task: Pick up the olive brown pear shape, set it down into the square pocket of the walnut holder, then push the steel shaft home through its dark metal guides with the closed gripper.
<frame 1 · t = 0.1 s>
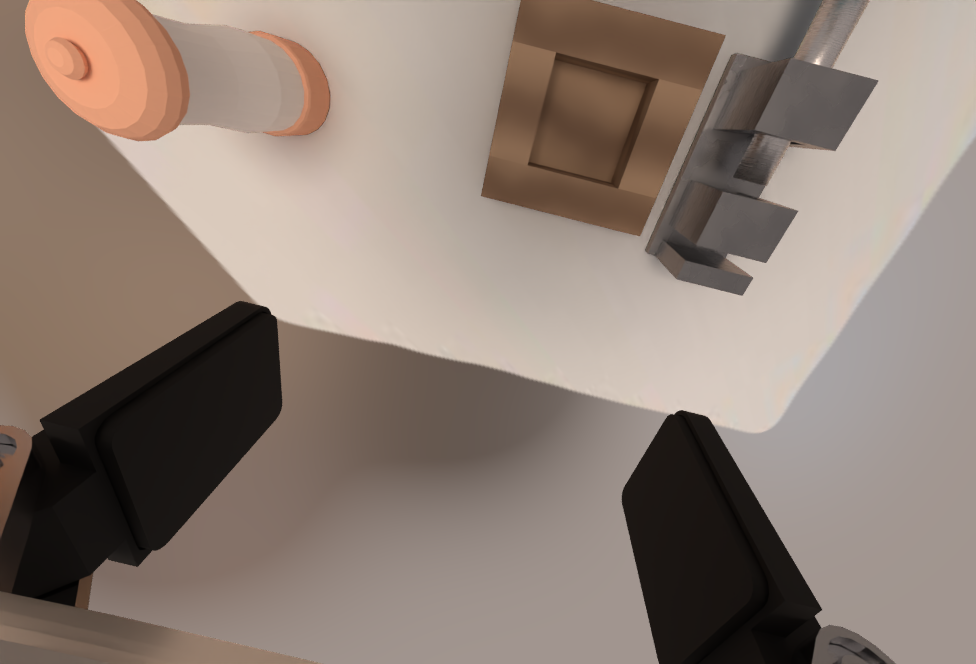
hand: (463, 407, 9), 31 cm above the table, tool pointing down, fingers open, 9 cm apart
salt shaker: (291, 89, 34), on the table
steel shaft: (820, 47, 25), point 5 cm above the table, slide at 0.0 cm
walnut holder: (582, 124, 33), on the table
shaft bracket: (721, 174, 34), on the table
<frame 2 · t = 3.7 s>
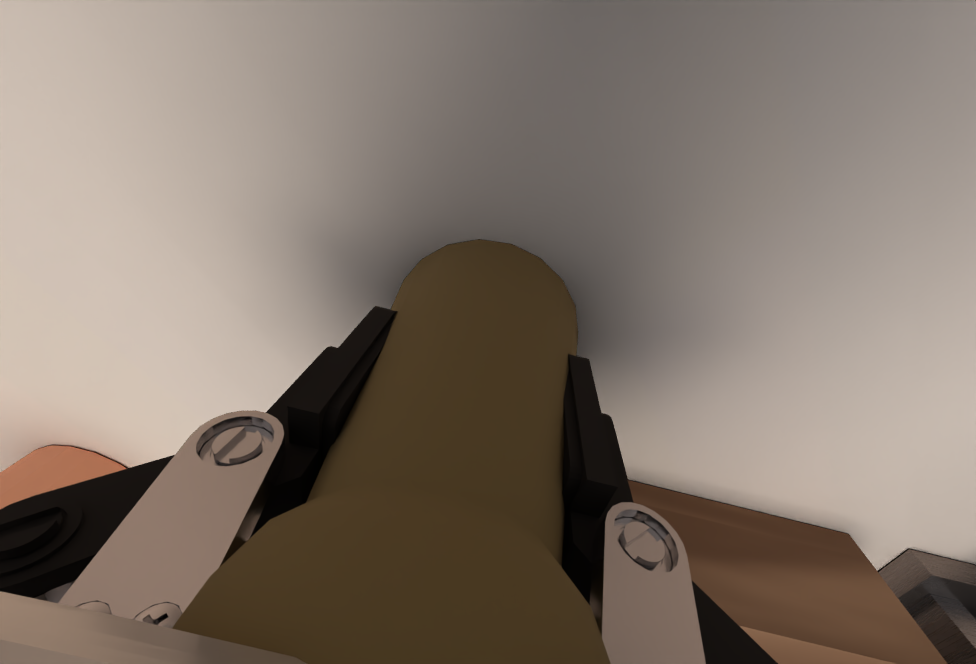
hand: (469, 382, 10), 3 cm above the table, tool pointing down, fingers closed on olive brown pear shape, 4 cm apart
salt shaker: (106, 493, 20), on the table
walnut holder: (611, 584, 18), on the table
shaft bracket: (855, 655, 19), on the table
olive brown pear shape: (484, 328, 13), on the table, touching gripper
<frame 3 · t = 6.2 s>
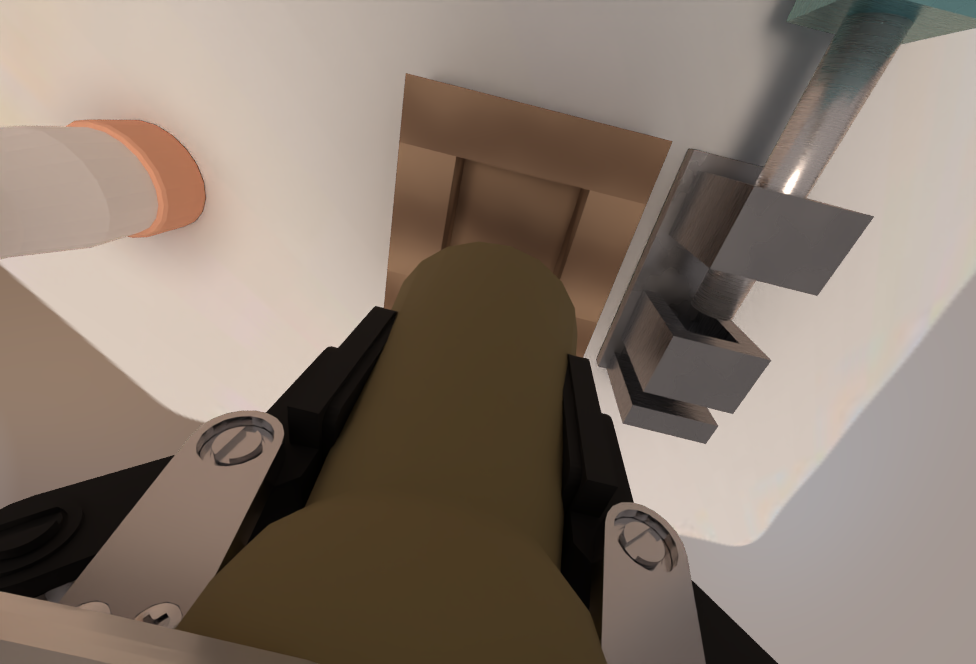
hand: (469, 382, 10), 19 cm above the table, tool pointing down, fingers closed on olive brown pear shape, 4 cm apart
salt shaker: (159, 176, 28), on the table
steel shaft: (797, 160, 19), point 5 cm above the table, slide at 0.0 cm
walnut holder: (510, 223, 27), on the table
shaft bracket: (682, 280, 27), on the table
olive brown pear shape: (484, 330, 13), point 16 cm above the table, touching gripper
when the fingers open (6 cm above the table, at t = 8.9 s): olive brown pear shape drops 2 cm, resting on walnut holder.
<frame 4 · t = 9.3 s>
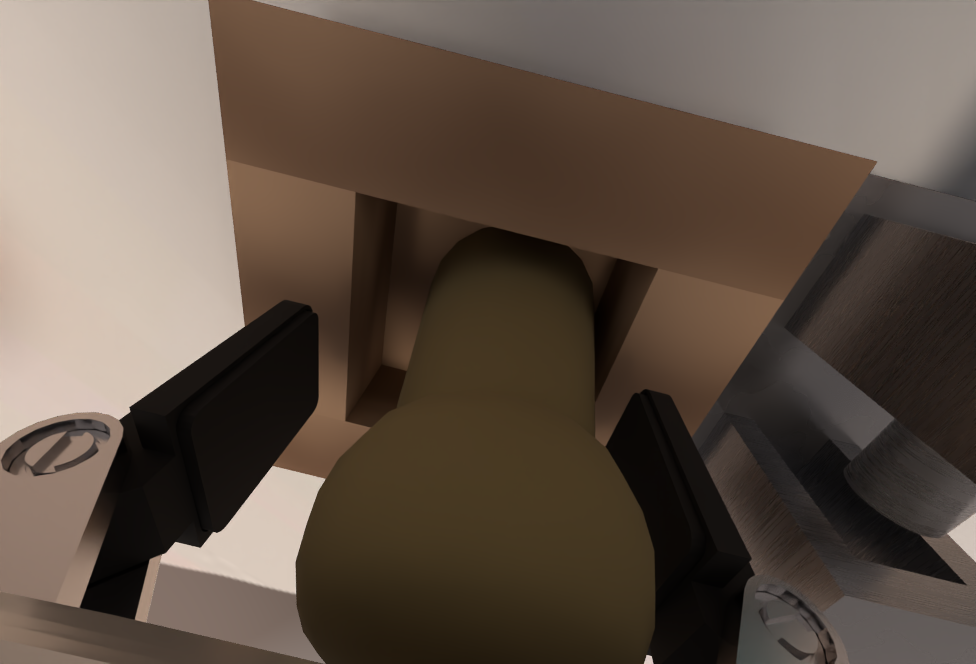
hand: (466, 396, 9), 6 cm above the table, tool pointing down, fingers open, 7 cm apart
walnut holder: (491, 296, 15), on the table
shaft bracket: (792, 394, 16), on the table
olive brown pear shape: (510, 304, 14), point 1 cm above the table, touching walnut holder
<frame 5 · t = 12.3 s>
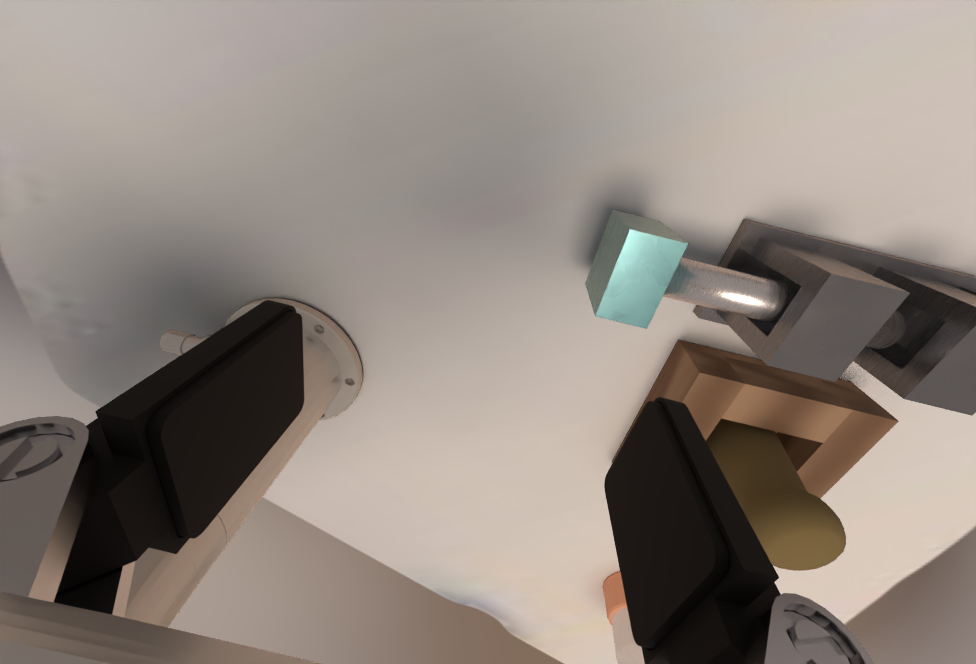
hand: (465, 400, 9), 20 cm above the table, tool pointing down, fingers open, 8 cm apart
salt shaker: (633, 585, 46), on the table
steel shaft: (743, 294, 22), point 5 cm above the table, slide at 0.0 cm
walnut holder: (719, 425, 33), on the table
shaft bracket: (826, 295, 27), on the table
olive brown pear shape: (725, 424, 32), point 1 cm above the table, touching walnut holder
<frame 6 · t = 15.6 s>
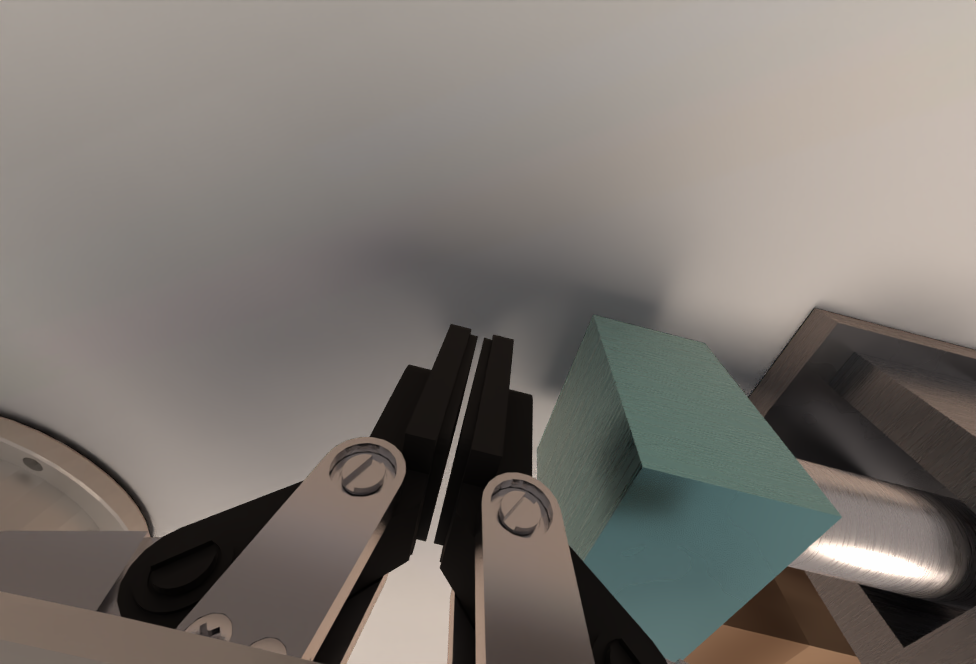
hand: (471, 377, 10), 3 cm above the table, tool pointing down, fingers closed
steel shaft: (915, 541, 9), point 5 cm above the table, slide at 2.0 cm, touching gripper
walnut holder: (738, 618, 20), on the table
shaft bracket: (965, 450, 14), on the table
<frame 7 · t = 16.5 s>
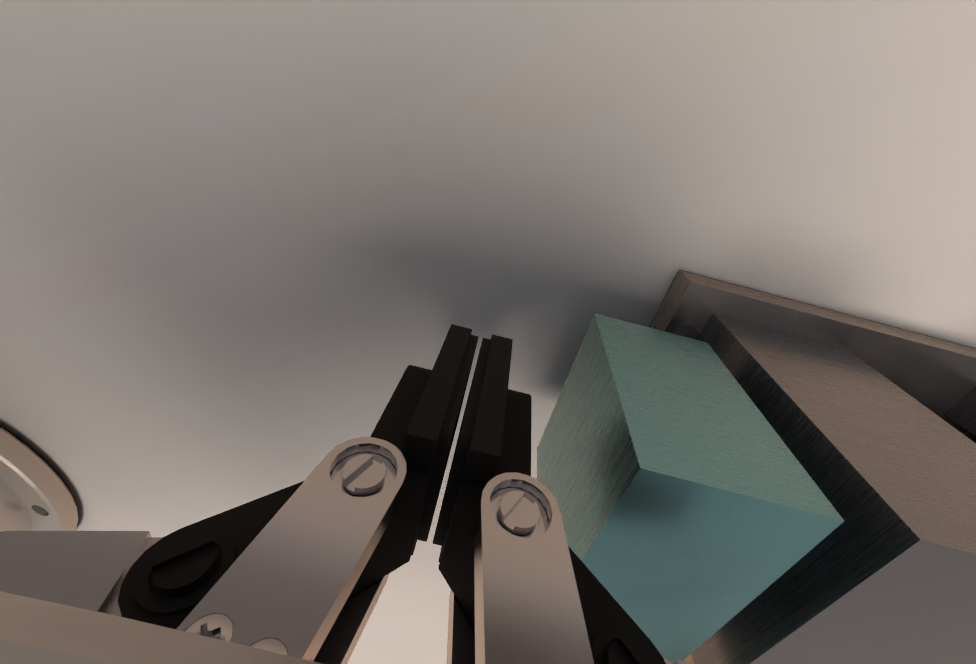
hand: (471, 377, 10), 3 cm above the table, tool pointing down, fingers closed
steel shaft: (921, 545, 9), point 5 cm above the table, slide at 6.4 cm, touching gripper
shaft bracket: (852, 421, 13), on the table
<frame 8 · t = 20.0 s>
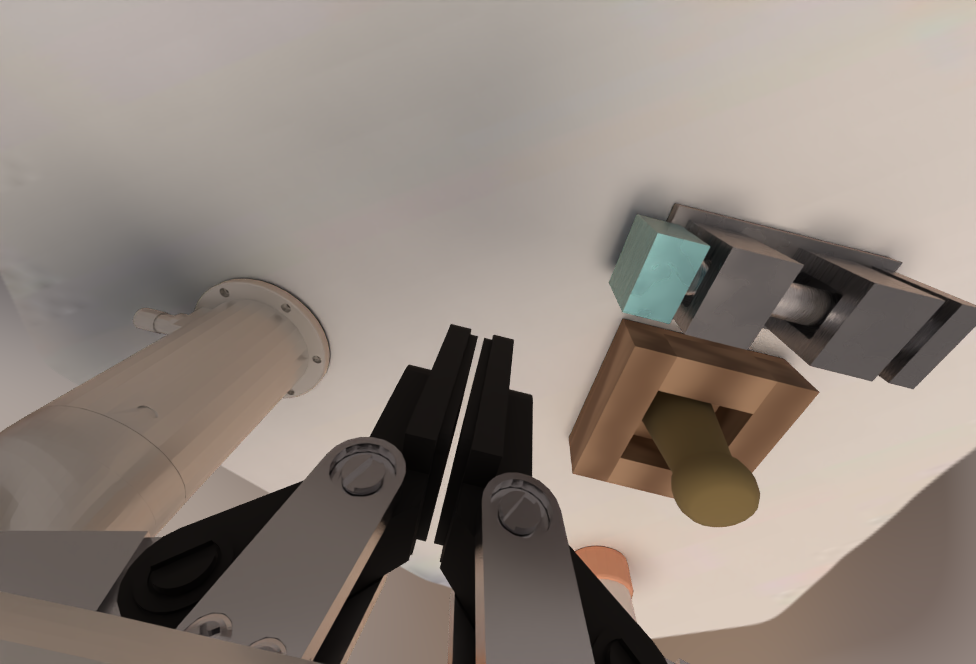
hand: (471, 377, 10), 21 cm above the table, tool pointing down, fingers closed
salt shaker: (597, 561, 48), on the table
steel shaft: (757, 293, 24), point 5 cm above the table, slide at 6.0 cm
walnut holder: (666, 402, 35), on the table
shaft bracket: (755, 275, 29), on the table
olive brown pear shape: (670, 400, 34), point 1 cm above the table, touching walnut holder
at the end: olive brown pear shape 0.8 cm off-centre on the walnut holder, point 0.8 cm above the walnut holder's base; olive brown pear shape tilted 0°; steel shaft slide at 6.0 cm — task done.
